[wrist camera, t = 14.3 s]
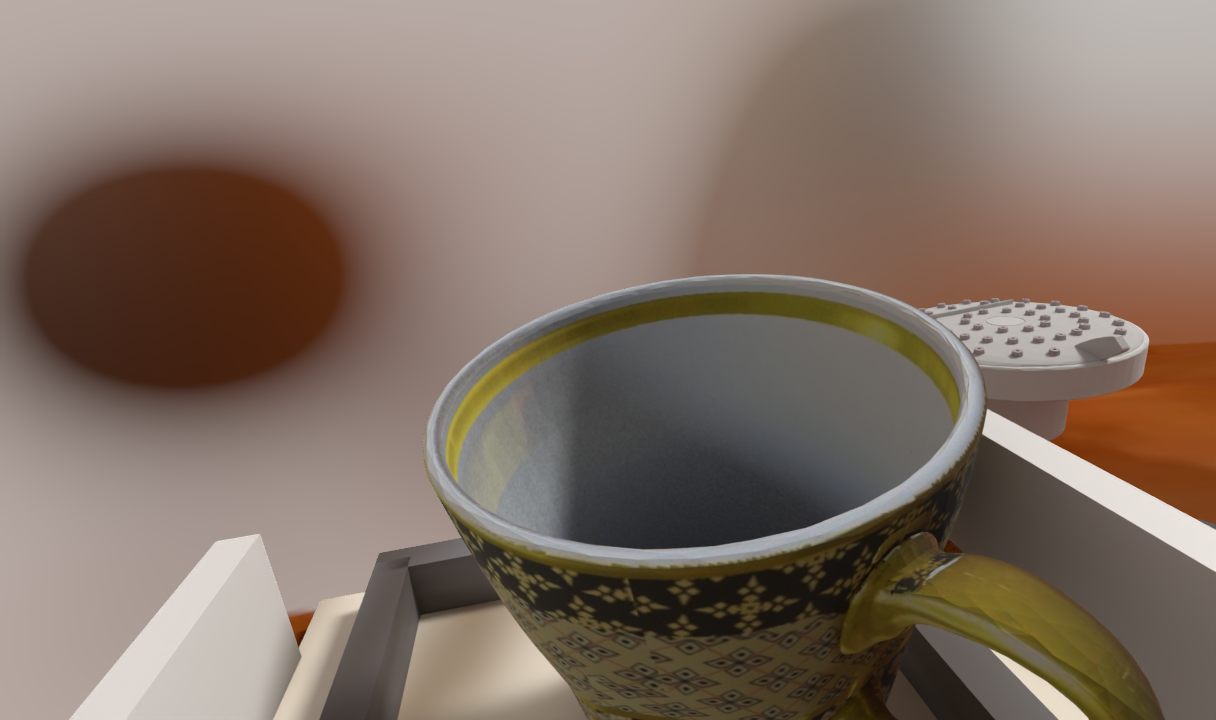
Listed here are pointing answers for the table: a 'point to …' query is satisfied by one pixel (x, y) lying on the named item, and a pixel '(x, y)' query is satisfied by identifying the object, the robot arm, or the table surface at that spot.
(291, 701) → the square frame board
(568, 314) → the ceramic cup
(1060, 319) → the showerhead
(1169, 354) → the table surface
